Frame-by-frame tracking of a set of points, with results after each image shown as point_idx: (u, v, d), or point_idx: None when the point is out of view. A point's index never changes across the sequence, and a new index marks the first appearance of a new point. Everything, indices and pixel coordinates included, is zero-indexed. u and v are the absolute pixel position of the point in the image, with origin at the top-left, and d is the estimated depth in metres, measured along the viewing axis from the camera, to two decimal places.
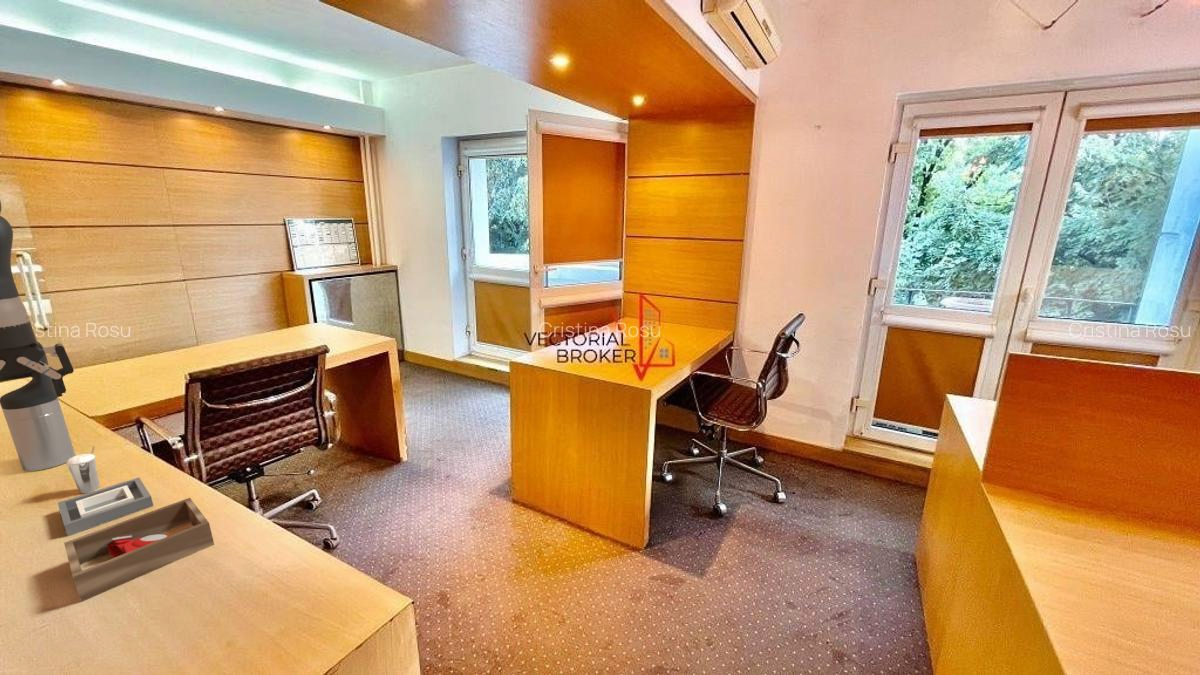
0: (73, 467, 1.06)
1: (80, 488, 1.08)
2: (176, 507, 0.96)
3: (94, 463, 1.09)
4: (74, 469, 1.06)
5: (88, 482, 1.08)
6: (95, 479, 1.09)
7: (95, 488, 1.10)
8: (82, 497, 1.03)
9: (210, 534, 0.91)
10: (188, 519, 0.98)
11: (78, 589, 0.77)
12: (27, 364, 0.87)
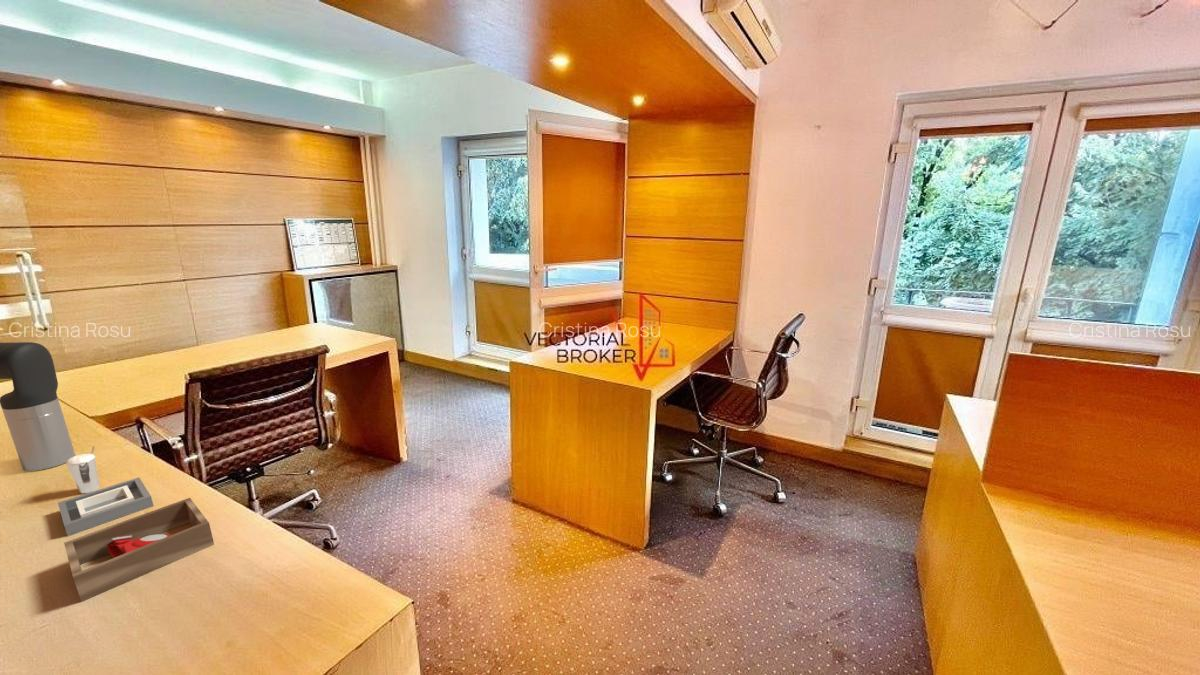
0: (73, 467, 1.06)
1: (80, 488, 1.08)
2: (176, 507, 0.96)
3: (94, 463, 1.09)
4: (74, 469, 1.06)
5: (88, 482, 1.08)
6: (95, 479, 1.09)
7: (95, 488, 1.10)
8: (82, 497, 1.03)
9: (210, 534, 0.91)
10: (188, 519, 0.98)
11: (78, 589, 0.77)
12: None
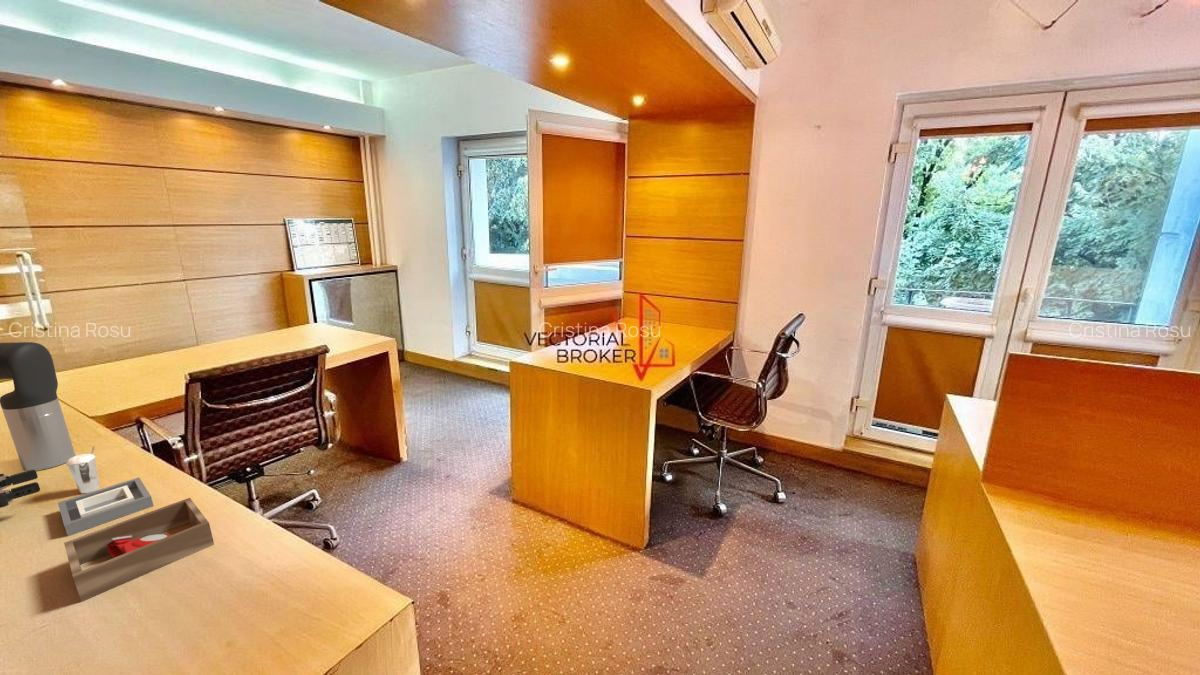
0: (73, 467, 1.06)
1: (80, 488, 1.08)
2: (176, 507, 0.96)
3: (94, 463, 1.09)
4: (74, 469, 1.06)
5: (88, 482, 1.08)
6: (95, 479, 1.09)
7: (95, 488, 1.10)
8: (82, 497, 1.03)
9: (210, 534, 0.91)
10: (188, 519, 0.98)
11: (78, 589, 0.77)
12: None
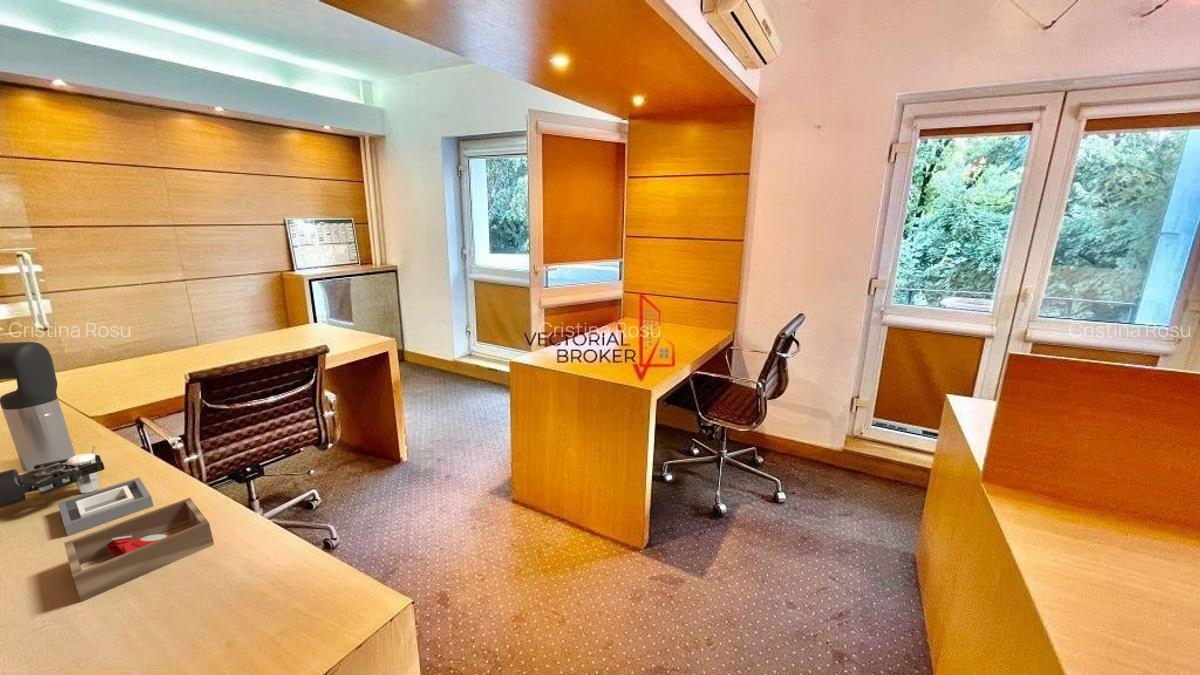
0: (73, 466, 1.06)
1: (80, 488, 1.08)
2: (176, 507, 0.96)
3: (94, 462, 1.09)
4: None
5: (88, 481, 1.08)
6: (95, 479, 1.09)
7: (95, 488, 1.09)
8: (82, 497, 1.03)
9: (210, 534, 0.91)
10: (188, 519, 0.98)
11: (78, 589, 0.77)
12: None
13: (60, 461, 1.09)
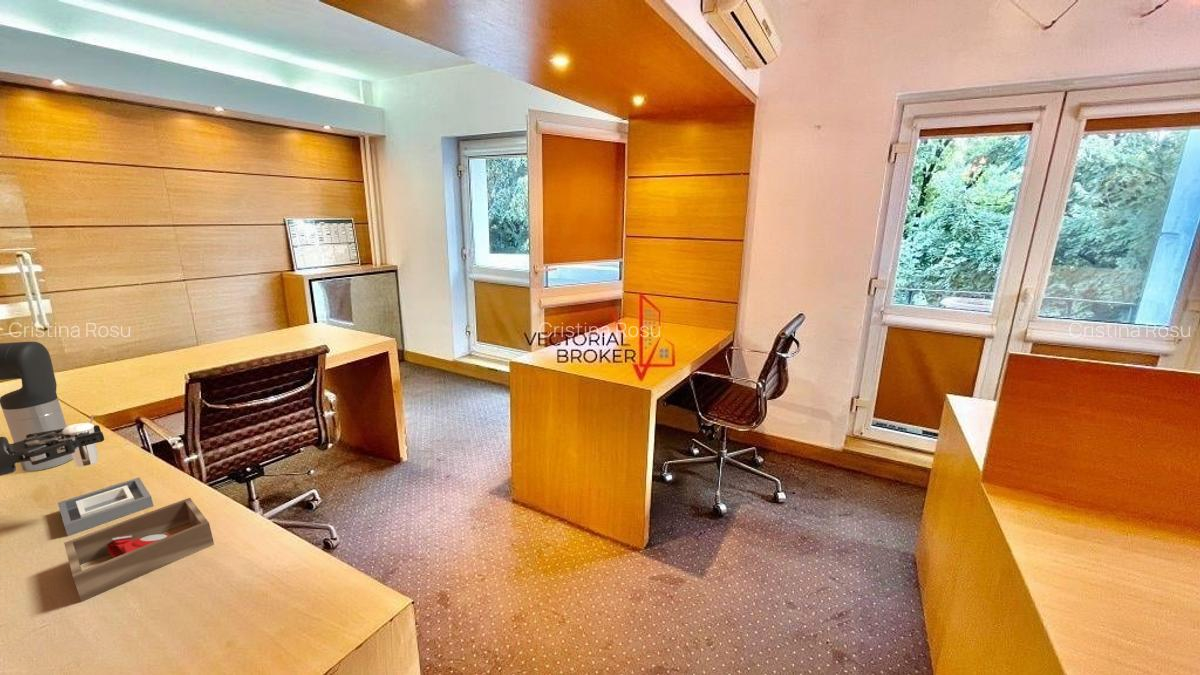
0: (69, 436, 0.95)
1: (76, 460, 0.97)
2: (176, 507, 0.96)
3: None
4: None
5: (85, 453, 0.97)
6: (93, 451, 0.99)
7: (93, 461, 0.99)
8: (82, 497, 1.03)
9: (210, 534, 0.91)
10: (188, 519, 0.98)
11: (78, 589, 0.77)
12: None
13: (55, 431, 0.98)
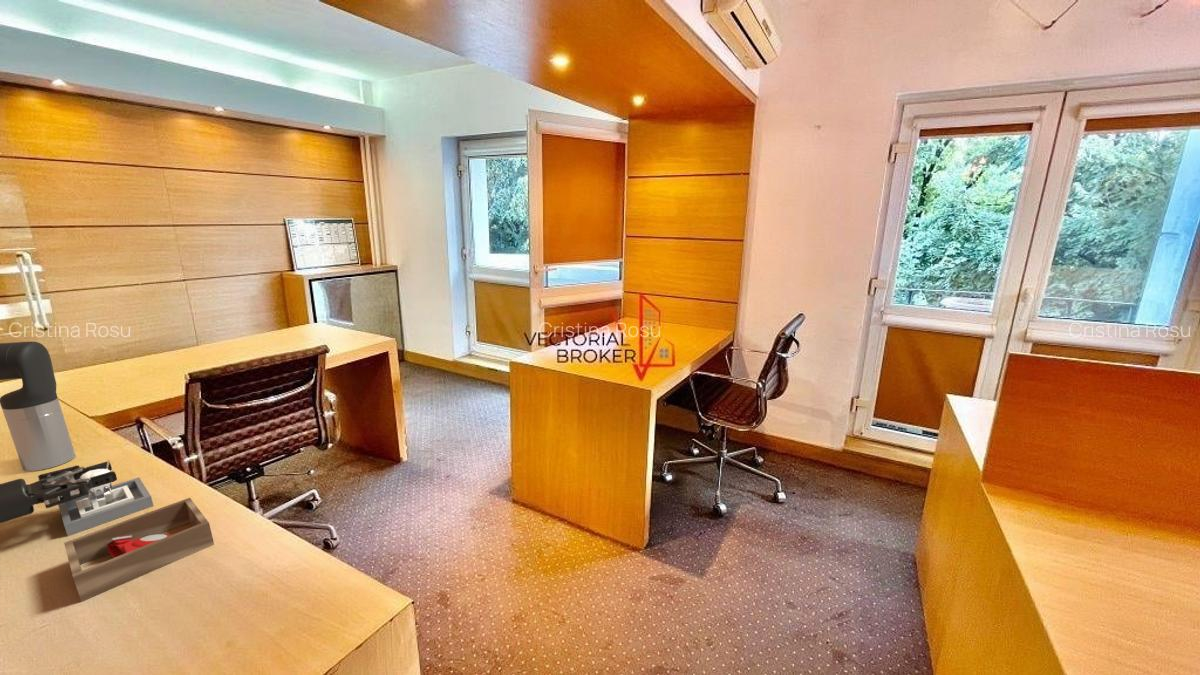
0: None
1: (94, 506, 1.00)
2: (176, 507, 0.96)
3: None
4: None
5: (102, 499, 1.00)
6: (110, 496, 1.02)
7: None
8: (82, 497, 1.03)
9: (210, 534, 0.91)
10: (188, 519, 0.98)
11: (78, 589, 0.77)
12: None
13: (67, 469, 1.01)
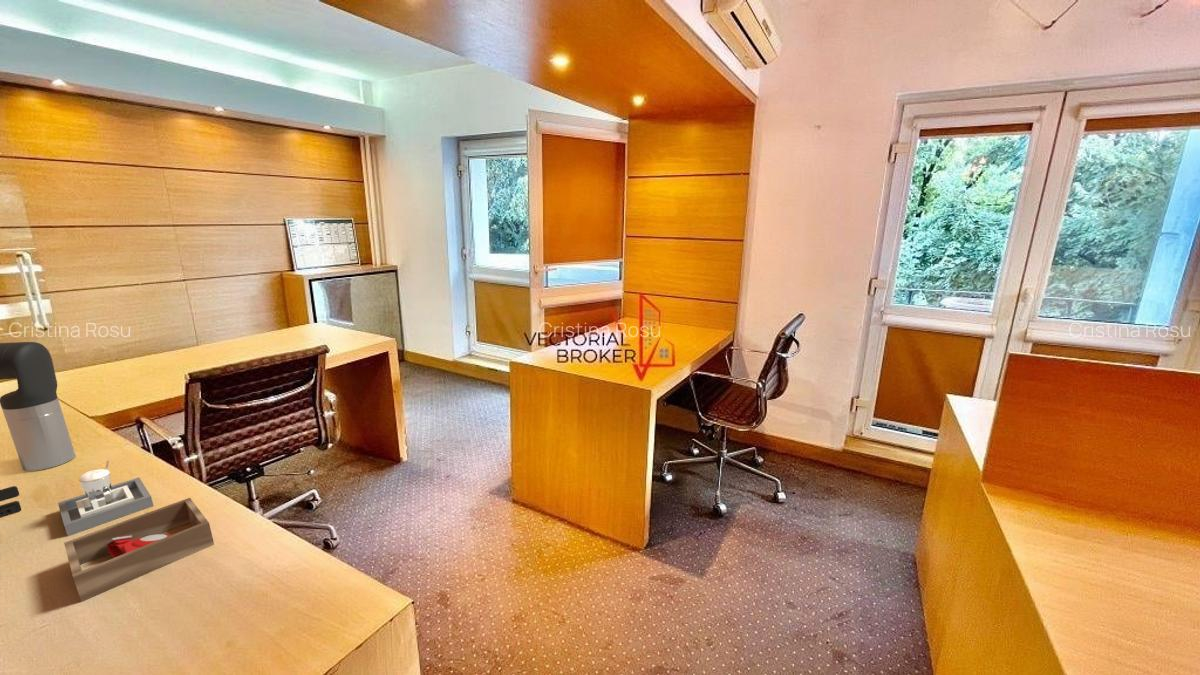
0: (86, 484, 0.98)
1: (94, 506, 1.00)
2: (176, 507, 0.96)
3: (108, 479, 1.01)
4: (87, 486, 0.98)
5: (102, 499, 1.00)
6: (109, 496, 1.02)
7: None
8: (82, 497, 1.03)
9: (210, 534, 0.91)
10: (188, 519, 0.98)
11: (78, 589, 0.77)
12: None
13: None
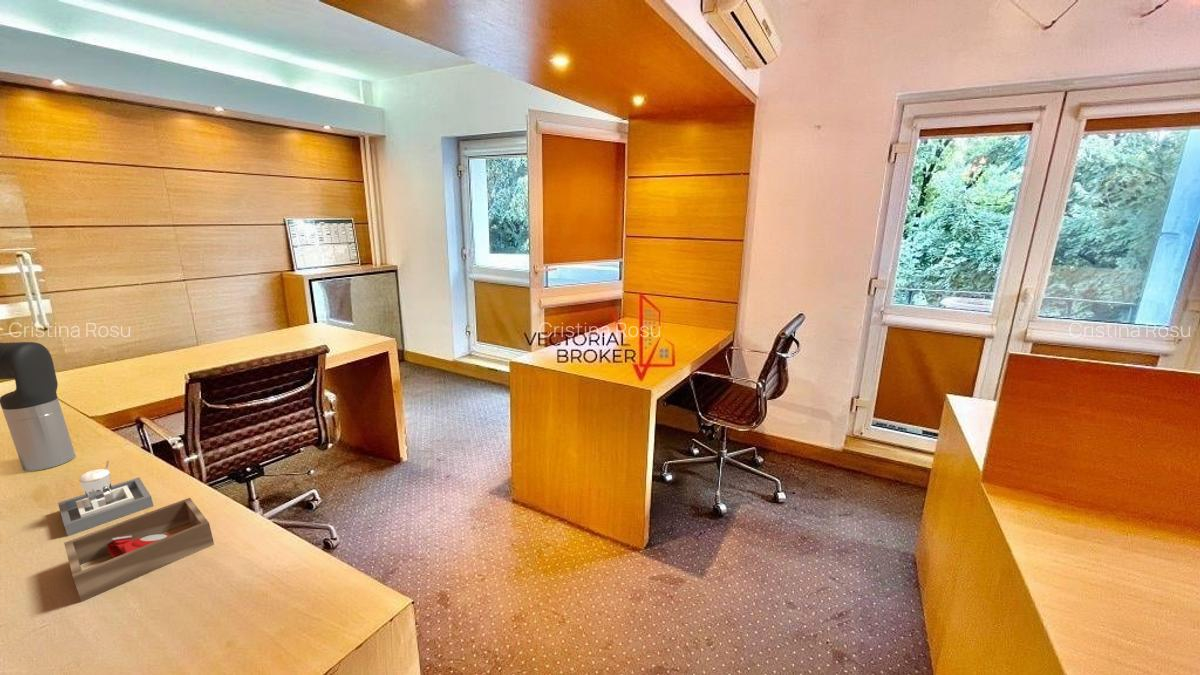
0: (86, 484, 0.98)
1: (94, 506, 1.00)
2: (176, 507, 0.96)
3: (108, 479, 1.01)
4: (87, 486, 0.98)
5: (102, 499, 1.00)
6: (109, 496, 1.02)
7: None
8: (82, 497, 1.03)
9: (210, 534, 0.91)
10: (188, 519, 0.98)
11: (78, 589, 0.77)
12: None
13: None
